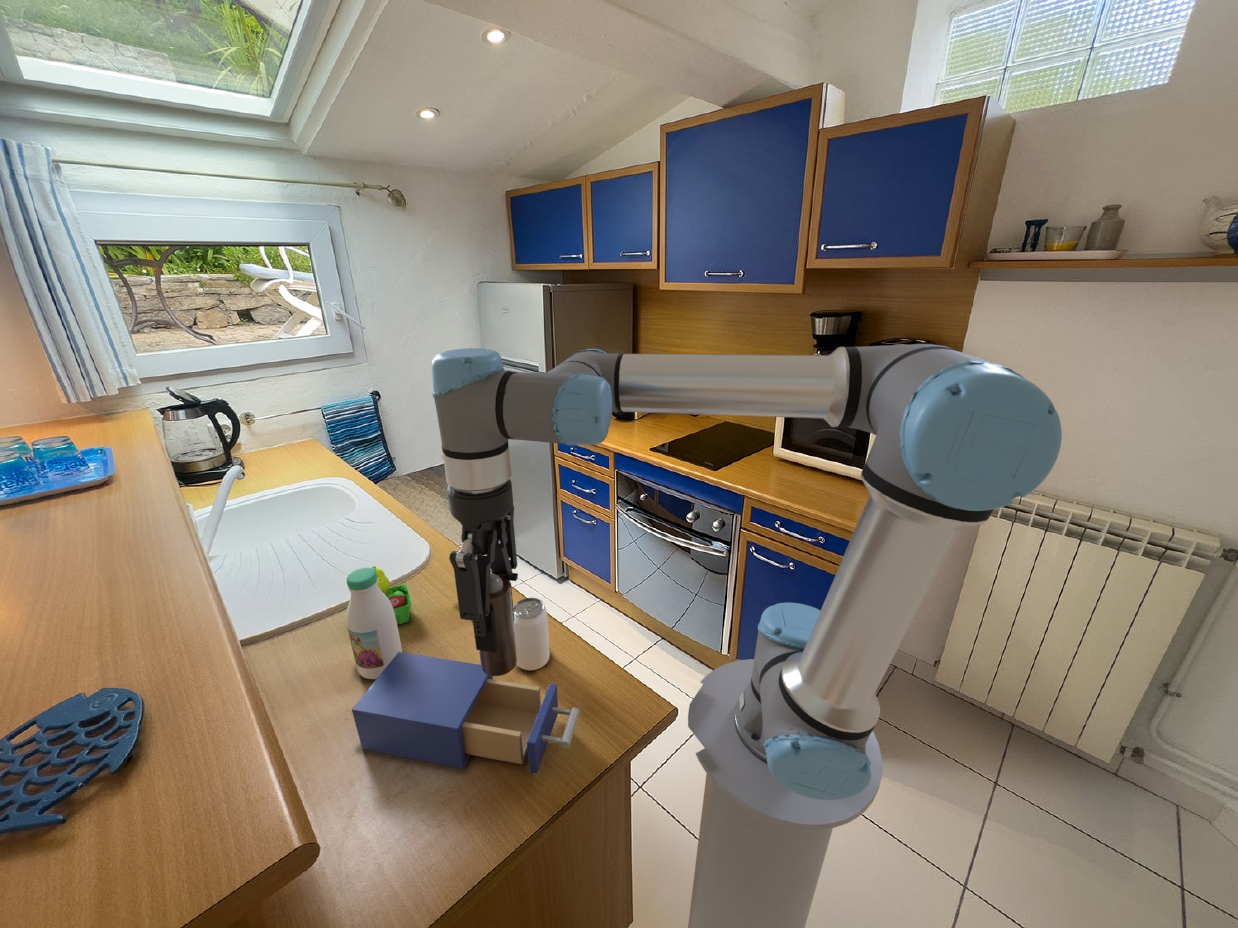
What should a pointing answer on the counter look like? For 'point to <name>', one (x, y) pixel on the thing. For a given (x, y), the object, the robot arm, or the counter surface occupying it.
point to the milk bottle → (371, 624)
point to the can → (531, 634)
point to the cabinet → (420, 708)
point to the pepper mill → (501, 630)
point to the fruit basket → (395, 597)
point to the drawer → (515, 723)
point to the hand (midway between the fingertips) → (496, 634)
